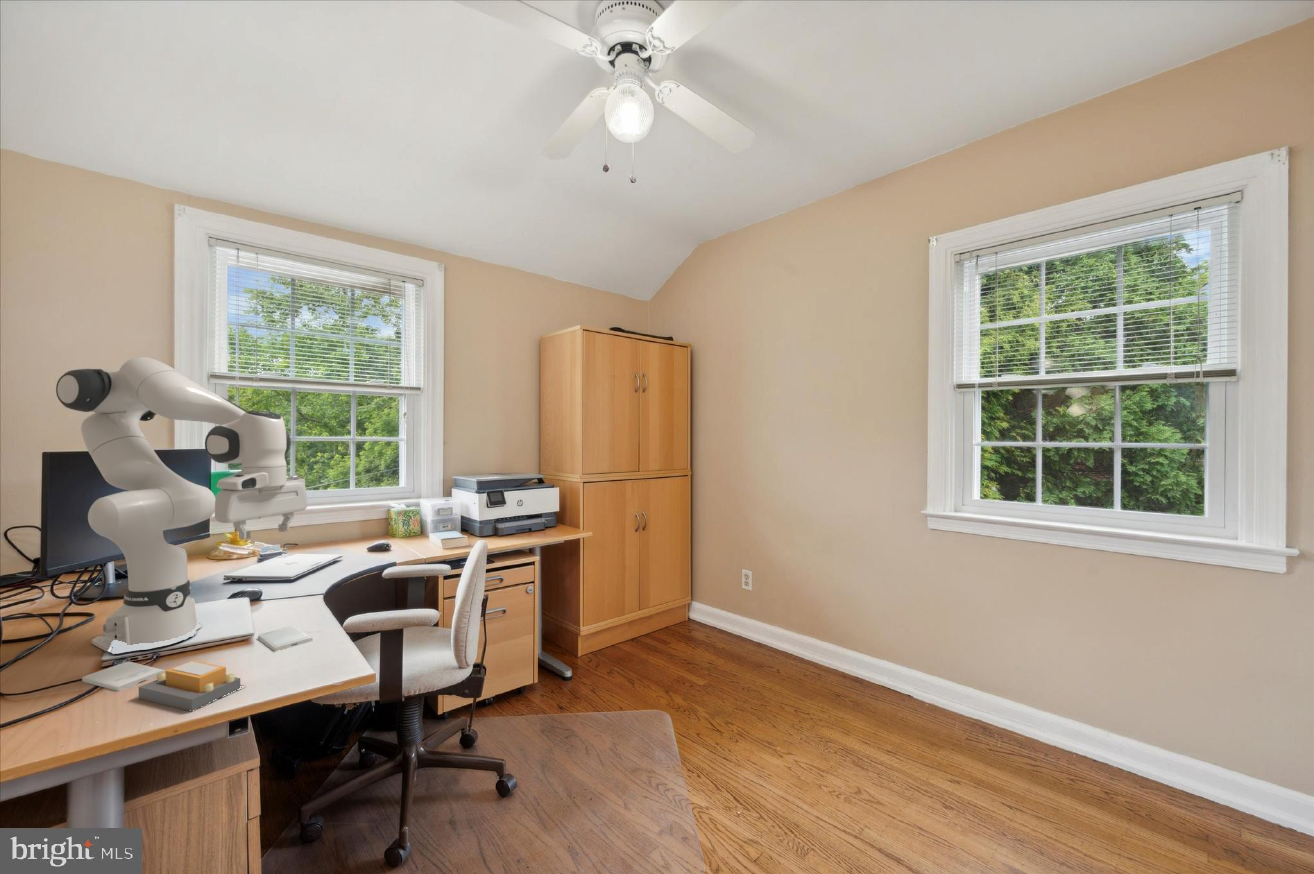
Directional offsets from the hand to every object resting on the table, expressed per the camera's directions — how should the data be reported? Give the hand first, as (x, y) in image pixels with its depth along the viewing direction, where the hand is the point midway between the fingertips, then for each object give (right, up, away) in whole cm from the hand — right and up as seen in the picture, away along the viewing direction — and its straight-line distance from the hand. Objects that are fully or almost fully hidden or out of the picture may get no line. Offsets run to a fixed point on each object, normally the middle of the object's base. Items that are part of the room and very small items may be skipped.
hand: (264, 535), depth 129 cm
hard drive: (-1, -29, +8) cm, 30 cm away
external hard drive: (-22, -30, -12) cm, 39 cm away
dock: (-1, -29, -18) cm, 35 cm away
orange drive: (-1, -29, -18) cm, 34 cm away
